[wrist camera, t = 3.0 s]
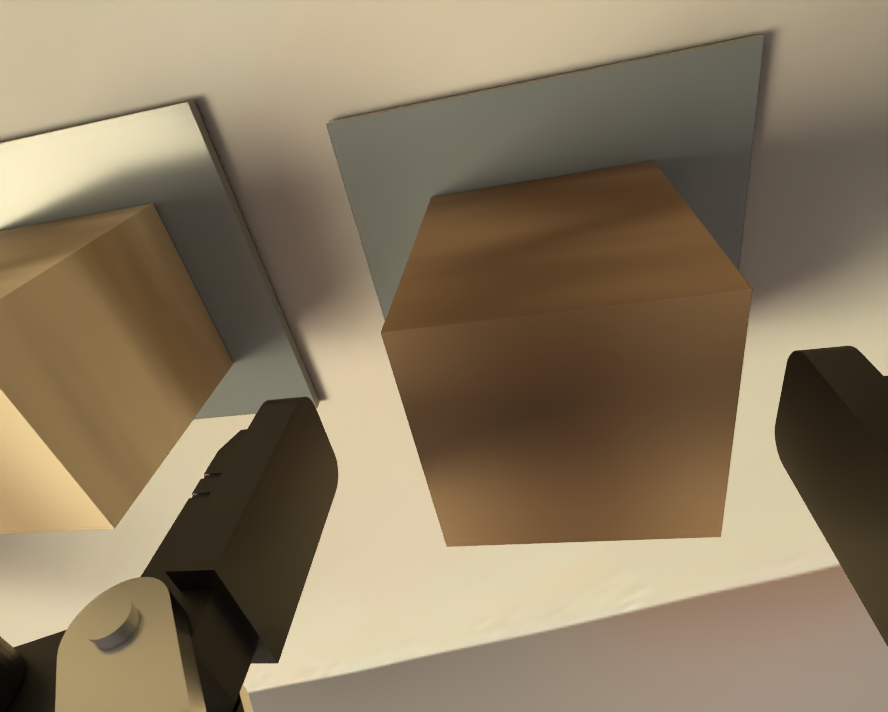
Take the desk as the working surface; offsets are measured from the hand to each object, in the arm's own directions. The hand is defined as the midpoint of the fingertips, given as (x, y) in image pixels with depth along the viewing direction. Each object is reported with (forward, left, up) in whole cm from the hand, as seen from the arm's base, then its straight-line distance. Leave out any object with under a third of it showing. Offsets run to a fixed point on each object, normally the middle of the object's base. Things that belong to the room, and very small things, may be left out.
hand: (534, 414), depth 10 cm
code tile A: (-1, 0, -6) cm, 6 cm away
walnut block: (-1, 0, -5) cm, 5 cm away
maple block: (+11, -1, -5) cm, 13 cm away
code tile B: (+11, -1, -6) cm, 13 cm away
